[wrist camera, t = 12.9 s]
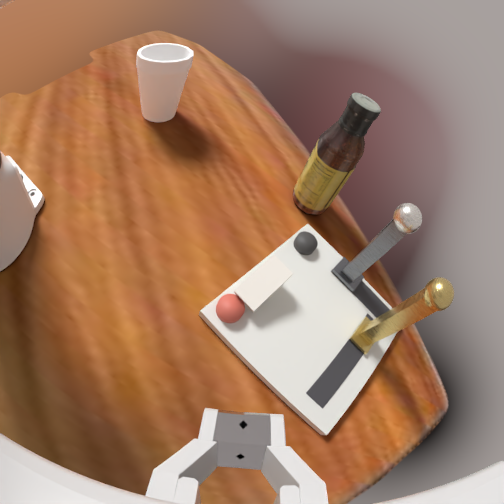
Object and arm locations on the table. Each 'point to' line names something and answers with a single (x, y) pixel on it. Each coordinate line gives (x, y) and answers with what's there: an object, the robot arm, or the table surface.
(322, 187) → the sauce bottle
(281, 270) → the block
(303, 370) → the panel
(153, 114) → the foam cup
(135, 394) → the table surface
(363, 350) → the brass lever
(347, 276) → the graphite lever
